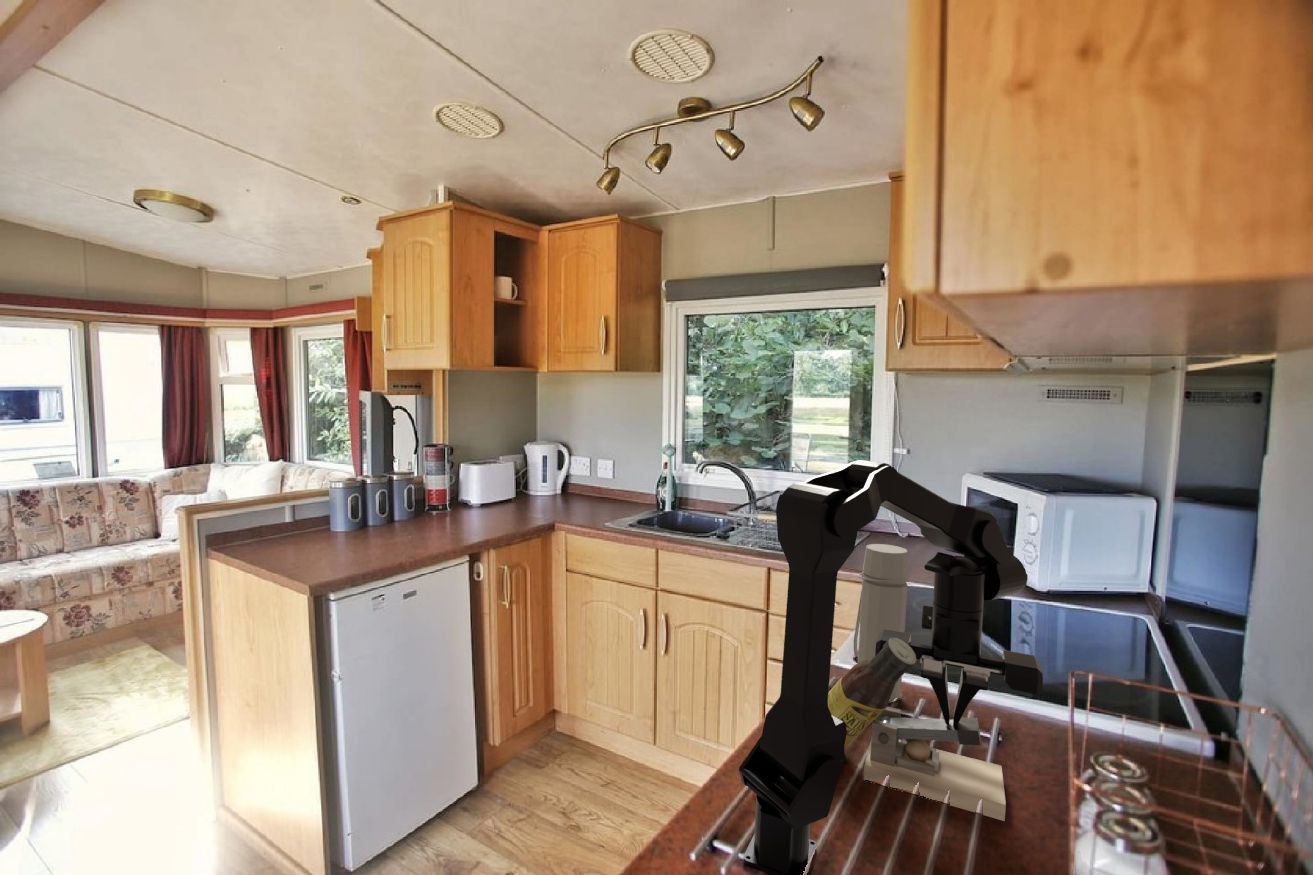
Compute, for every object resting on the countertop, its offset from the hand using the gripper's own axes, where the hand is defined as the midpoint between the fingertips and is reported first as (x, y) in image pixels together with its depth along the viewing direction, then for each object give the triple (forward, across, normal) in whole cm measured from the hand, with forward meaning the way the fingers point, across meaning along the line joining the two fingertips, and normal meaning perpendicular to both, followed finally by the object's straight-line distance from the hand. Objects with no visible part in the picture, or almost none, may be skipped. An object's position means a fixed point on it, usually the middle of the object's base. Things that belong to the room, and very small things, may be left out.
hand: (951, 724), depth 79 cm
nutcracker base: (+8, +2, 0) cm, 8 cm away
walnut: (+4, +4, 0) cm, 6 cm away
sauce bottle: (+6, +16, 0) cm, 18 cm away
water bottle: (+8, +12, -22) cm, 26 cm away
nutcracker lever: (+2, +3, 0) cm, 3 cm away
